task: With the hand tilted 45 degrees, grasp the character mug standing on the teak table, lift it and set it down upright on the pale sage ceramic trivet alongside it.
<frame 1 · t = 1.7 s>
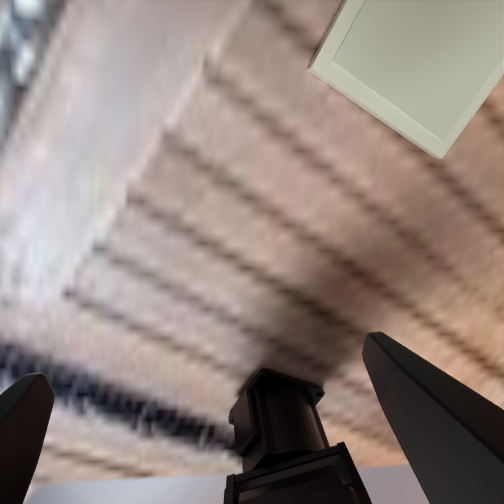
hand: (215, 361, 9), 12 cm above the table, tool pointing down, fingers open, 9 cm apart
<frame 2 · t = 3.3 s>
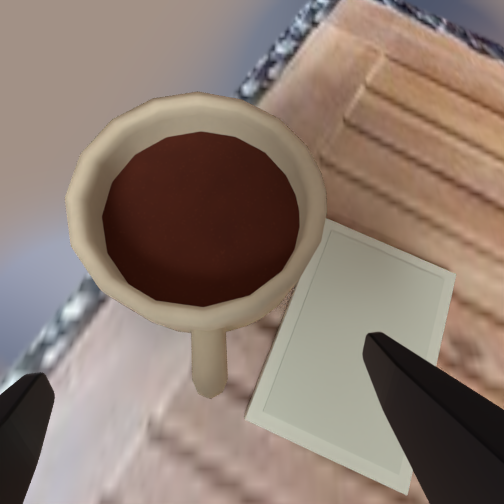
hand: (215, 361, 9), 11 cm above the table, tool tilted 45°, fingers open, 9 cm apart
character mug: (215, 285, 21), on the table
trivet: (355, 340, 20), on the table
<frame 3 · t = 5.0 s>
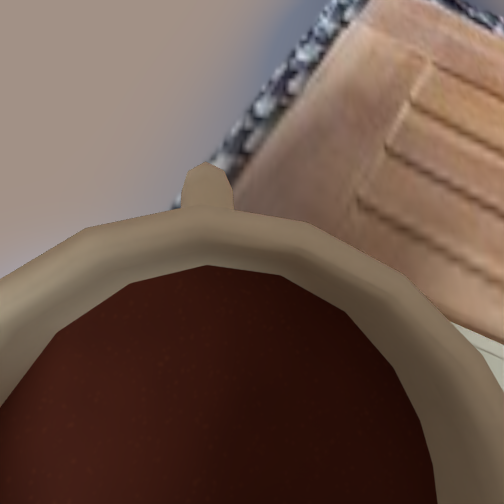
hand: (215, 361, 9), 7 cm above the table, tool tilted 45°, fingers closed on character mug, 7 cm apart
character mug: (221, 383, 15), on the table, touching gripper
trivet: (415, 461, 15), on the table
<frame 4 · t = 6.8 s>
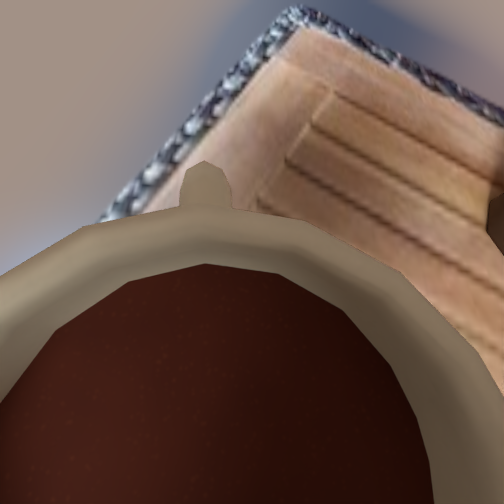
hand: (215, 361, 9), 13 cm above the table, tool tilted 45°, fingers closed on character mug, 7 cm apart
character mug: (221, 382, 15), point 6 cm above the table, touching gripper
when the fingers open (9 cm above the table, at t = 8.7 s): character mug stays where it is, resting on trivet.
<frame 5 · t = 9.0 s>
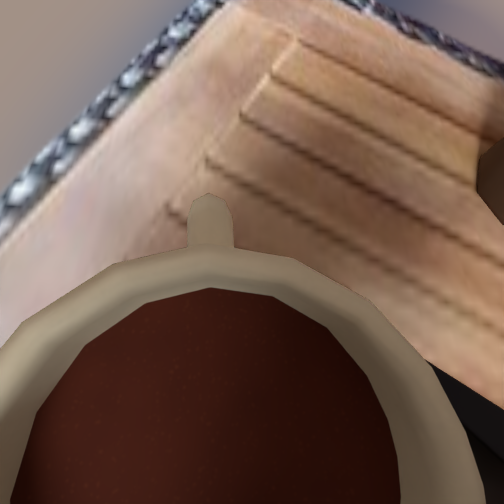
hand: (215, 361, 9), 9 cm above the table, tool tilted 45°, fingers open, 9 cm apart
character mug: (222, 384, 16), point 1 cm above the table, touching trivet
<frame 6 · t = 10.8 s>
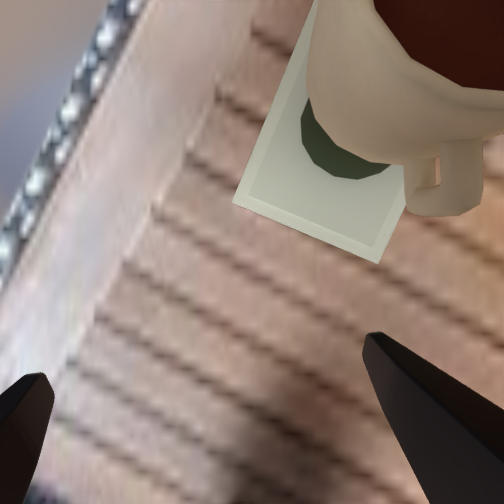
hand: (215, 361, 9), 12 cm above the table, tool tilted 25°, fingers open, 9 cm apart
character mug: (350, 129, 19), point 1 cm above the table, touching trivet
trivet: (348, 130, 20), on the table
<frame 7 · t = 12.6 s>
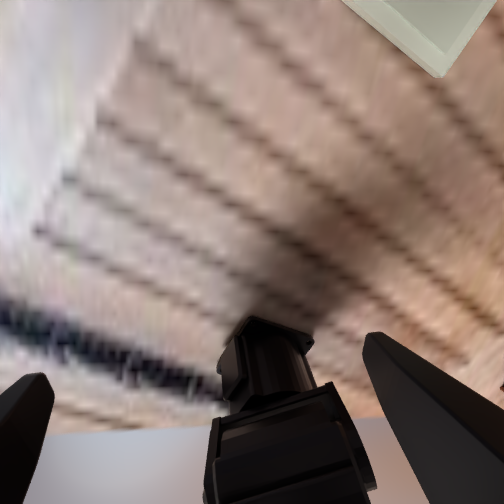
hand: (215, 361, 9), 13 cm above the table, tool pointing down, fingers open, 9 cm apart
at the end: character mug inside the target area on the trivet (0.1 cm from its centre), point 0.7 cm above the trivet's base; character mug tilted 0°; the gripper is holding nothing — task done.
